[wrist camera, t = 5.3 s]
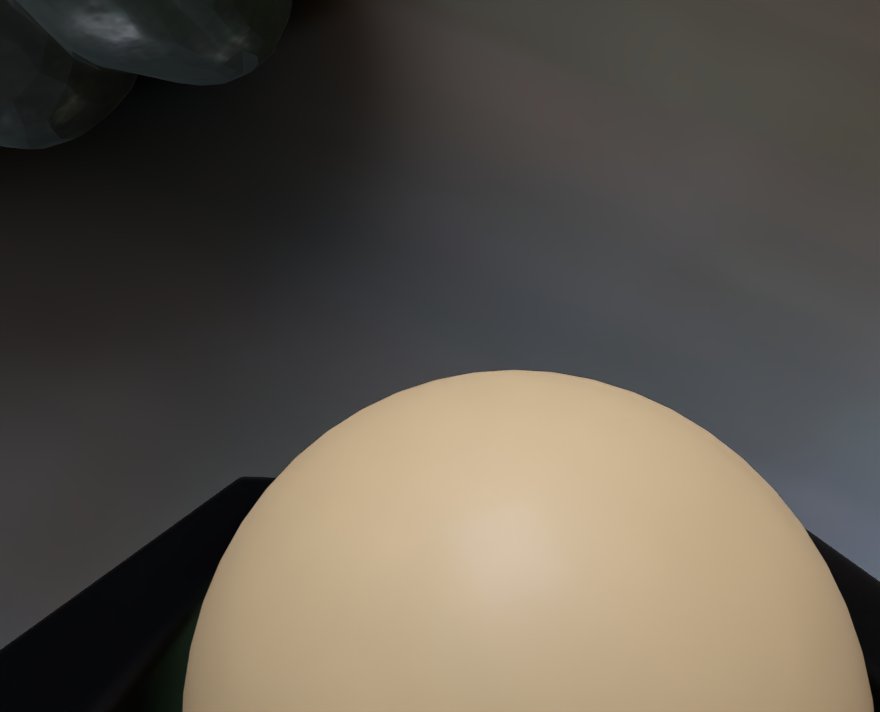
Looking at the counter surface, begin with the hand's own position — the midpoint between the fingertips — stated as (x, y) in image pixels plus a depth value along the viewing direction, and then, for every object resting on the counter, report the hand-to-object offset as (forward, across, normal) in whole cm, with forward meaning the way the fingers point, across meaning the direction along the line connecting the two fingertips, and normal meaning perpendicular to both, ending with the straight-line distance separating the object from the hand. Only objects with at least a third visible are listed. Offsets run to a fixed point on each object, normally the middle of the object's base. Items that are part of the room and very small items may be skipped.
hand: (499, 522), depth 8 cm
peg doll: (+4, 0, +6) cm, 7 cm away
